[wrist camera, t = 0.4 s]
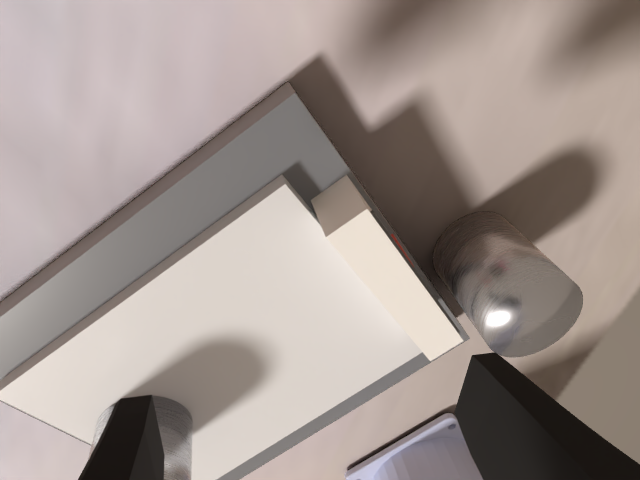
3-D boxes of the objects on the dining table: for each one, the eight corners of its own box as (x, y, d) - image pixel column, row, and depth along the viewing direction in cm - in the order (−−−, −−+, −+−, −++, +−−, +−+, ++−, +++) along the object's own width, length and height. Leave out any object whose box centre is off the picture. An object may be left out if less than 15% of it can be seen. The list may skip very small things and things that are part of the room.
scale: (456, 318, 24) (497, 379, 21) (204, 475, 27) (204, 551, 24) (288, 81, 16) (310, 117, 13) (-49, 340, 19) (-106, 427, 15)
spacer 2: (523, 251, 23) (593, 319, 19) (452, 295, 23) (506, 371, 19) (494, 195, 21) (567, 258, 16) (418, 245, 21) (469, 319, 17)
